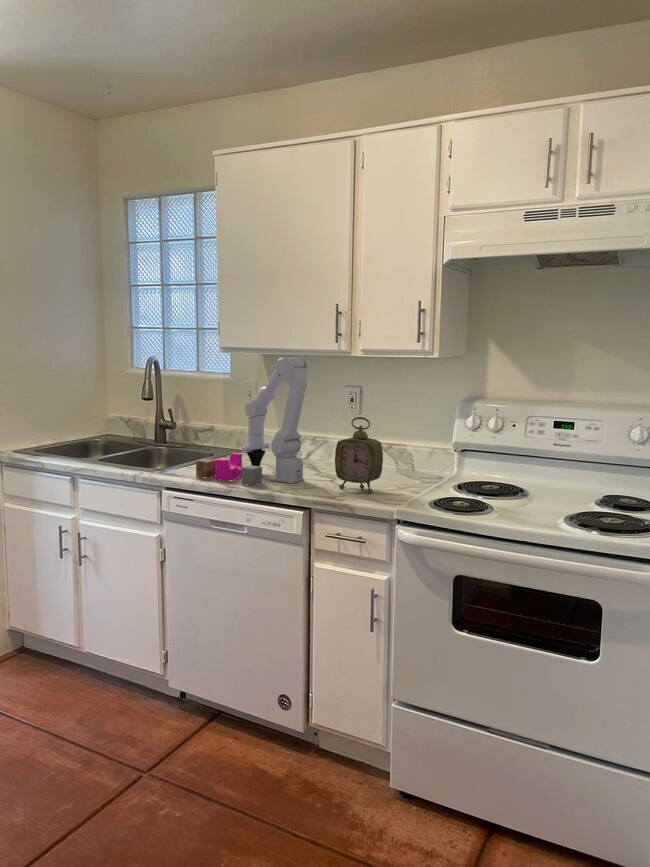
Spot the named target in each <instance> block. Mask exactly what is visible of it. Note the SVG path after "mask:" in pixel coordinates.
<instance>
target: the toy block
mask: <svg viewBox="0 0 650 867" xmlns="http://www.w3.org/2000/svg"><path fill="white" fill-rule="evenodd" d="M215 460H216V476H215V480H216V479H221V480H220V481H225V480H233V481H235V480H236V479H235V478H237V477H239V476H241V475H242V467H243V453H242V452H241V453H239V452H232V453H230V455H229V458H219V457H218V458H216V459H215ZM241 477H242V476H241ZM239 478H240V477H239ZM234 479H235V480H234ZM237 479H238V478H237Z"/></svg>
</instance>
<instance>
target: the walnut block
mask: <svg viewBox="0 0 650 867" xmlns="http://www.w3.org/2000/svg"><path fill="white" fill-rule="evenodd" d="M215 475H216V459H210V458H202V459H196V460H195V476H199V477H198V478H201V477H206V478H205V479H208V478H207V477H210V478H212V477H211V476H214V477H216V476H215Z"/></svg>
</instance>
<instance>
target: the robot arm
mask: <svg viewBox="0 0 650 867" xmlns="http://www.w3.org/2000/svg"><path fill="white" fill-rule="evenodd" d="M308 371H309V365H308V363H307V361H306V359H305V358H304V357H301V356H299V357H298V356H297V357H283V356H282V357H279V358H278V360H277V361H276V363H275V364H274V371H273V373H272V375H271V377H270V379H269V380H268V382H267V384H266V386H262V387H260V388H259V389H258V392H257V394H256V395H255V396H254V398H253V399H252V400H251V401H248V402H246V404H245V408H244V412H245V415H246V416H247V418H248V422H247V423H248V424H247V425H248V429H247V431H248V435H247V436H248V437H247V438H248V440H247V444H245V445H246V446H243V447H241V454H247V456H248V458H249V460H250V465H252V466H259V467H261V462H262V460H263V458H264V456H265V454H266V450H265V449H270V448H271V452H272V454H273V456H274V457H275V477H272V478H270V481H273V482H282V483H287V484H296V483H298V482H302V481H304V480H305V478H304V462H303V459H302V458H301V457H298V453H299V452H300V451H301V447H302V445H301V440H302V435H301V434H300V433H299V432H298V426H299V422H300V418H301V417H300V416H301V413H302V409H303V403H304V399H305V394H306V389H307V382H308V381H307V376H308ZM283 381H284V382H285V383H286V384H288V385H289V391H288V396H287V400H286V406H285V409H284V415H283V418H282V423H281V427H280V429H279V430H278V431H277V432H276V433H275V434H274V437H273V440H272V441H271V444H270V442H265V440H264V438H265V437H264V436H265V435H264V434H265V433H264V432H265V431H264V430H265V427H264V426H265V421H266V415H267V414H268V409H267V408H268V407H269V405H270V403H271V402H272V401H273V399H274V398H275V391H277V389H278V388H279V386H280V385H281V384H282V382H283Z"/></svg>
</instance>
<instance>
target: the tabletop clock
mask: <svg viewBox="0 0 650 867" xmlns="http://www.w3.org/2000/svg"><path fill="white" fill-rule="evenodd" d="M355 420H363V421H366V422H367V424H368V426H366V427H363V425H361V424H360V425H359V426H356V425H354V421H355ZM351 426H352V427H353V428H354V429H355V431H354V432H353V435H352V437H349V438H345V439H341V440H338V441H337V443H336V447H335V454H334V466H335V467H334V468H335V474H336V477H337V478H338V479H339V480H341V481H343V483H342V484H340V485H339V486H338V487H339V489H340V490H343V489H345V484H346V483H347V482H349V483H356V484H360V485H359V488H361V490H363V489H365V485H364V484H366V485H367V491H366V492H367V493H368V494H372V493H373V489H372V488H371V484H370V483H371V482H373V481H375V480H378V479H380V477H381V475H382V471H383V464H384V454H383V453H384V450H383V445H382V443H381V441H379V440H378V439H375V438H371V437H369V436H368V434H367V432H366V431H365V430H367V429H369V428H370V426H371V422H370V421H369V419H368V418H366V417H363V416H358V417H354V418H353V419H352V420H351Z"/></svg>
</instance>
